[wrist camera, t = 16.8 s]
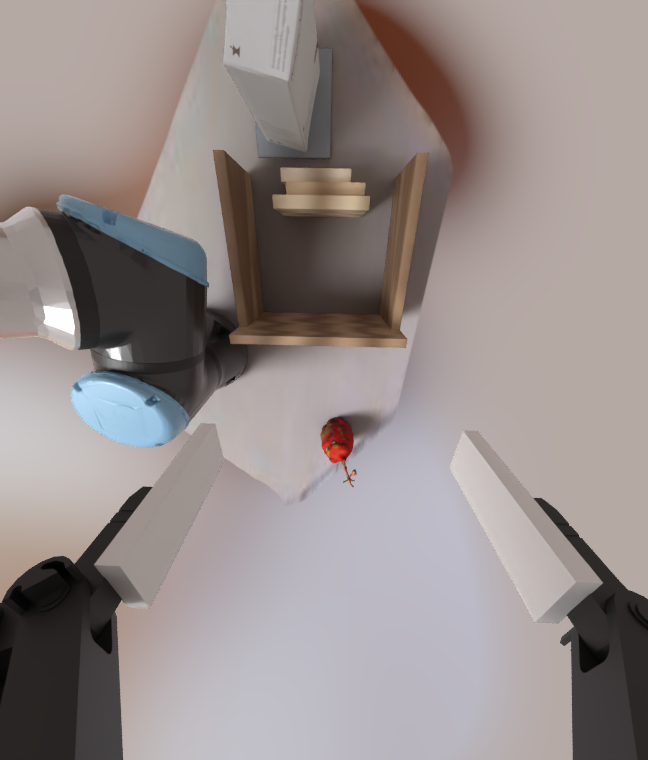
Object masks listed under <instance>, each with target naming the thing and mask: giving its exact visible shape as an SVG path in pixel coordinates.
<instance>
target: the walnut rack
mask: <svg viewBox="0 0 648 760" xmlns="http://www.w3.org/2000/svg"><path fill="white" fill-rule="evenodd" d="M213 154H214V161H215V168H216V175H217V181H218V188H219V195H220V202H221V208H222V215H223V222H224V229H225V235H226V242H227V249H228V256H229V262H230V269H231V276H232V283H233V289H234V296H235V303H236V310H237V316H238V323H239V327H238V328H237V329H236V330H235V331H233V332H232V333H231V334H230V335H229V338H230V344H262V345H305V346H348V347H391V348H406V344H407V338H406V337H405V336H404V335H403V334H402V332H401V331H400V325H401V319H402V313H403V307H404V301H405V295H406V289H407V283H408V277H409V271H410V265H411V258H412V252H413V246H414V240H415V234H416V228H417V222H418V216H419V210H420V204H421V198H422V192H423V186H424V179H425V173H426V167H427V161H428V155H429V153H417V154H416V155H415V156H414V158H413V159H412V160H411V161H410V162H409V163H408V164H407V166H406V167H405V168H404V169H403V170H402V171H401V172H400V173H399V175H398V176H397V177H396V179H395V187H394V195H393V203H392V212H391V220H390V228H389V237H388V245H387V253H386V262H385V270H384V278H383V286H382V295H381V303H380V311H379V315H375V314H329V313H283V312H264V309H263V299H262V289H261V278H260V268H259V258H258V248H257V237H256V227H255V217H254V207H253V196H252V186H251V176H250V175H249V174H248V173H247V172H246V171H245V170H244V169H243V168H242V167H241V166H240V165H239V164H238V163H237V162H236V161H235V160H233V159H232V158H231V157H230V156H229V155H228V154H227V153H226V152H225V151H224V150H213Z"/></svg>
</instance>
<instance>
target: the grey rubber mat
mask: <svg viewBox="0 0 648 760" xmlns="http://www.w3.org/2000/svg"><path fill="white" fill-rule="evenodd" d="M318 53H319V65H320V76H319V81H318V85H317V90H316V95H315V100H314V105H313V111H312V117H311V123H310V130H309V137H308V147H307V152H302V151H298V150H295V149H292V148H289V147H286V146H283V145H279V144H276V143H273V142H270V141H267V140H266V138H265V137H264V135H263V133H262V131H261V129H260V127H259V126H258V124H257V122H256V120H255V122H256V134H257V146H258V157H259V158H304V159H330V139H331V92H332V48H318Z"/></svg>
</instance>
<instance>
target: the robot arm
mask: <svg viewBox="0 0 648 760" xmlns="http://www.w3.org/2000/svg"><path fill="white" fill-rule="evenodd" d="M57 208H58V209H59V210H61V212H53V211H48V210H43V209H38V208H33V207H25V208H24V209H22V210H21V211H19V212H18V213H17V214H15V215H14V216H12V217H11V218H9V219H8V220H7V221H5V222H0V339H7V338H21V337H35V336H37V337H42V338H45V339H48V340H50V341H52V342H54V343H56V344H58V345H61V346H62V347H65V348H67V349H69V350H72V351H73V350H83V349H90V350H91V355H92V360H93V365H94V370H93V371H91V372H89V373H86V374H84V375H82V376H81V377H80V379H79V381H78V382H76V383H75V384H74V385H73V387H72V389H71V392H70V398H71V402H72V405H73V407H74V409H75V410H76V412H77V414H78V415H79V416H80V417H81V419H82V420H84V422H86V423H87V424H88V425H89V426H90V427H91V428H93V429H94V430H96V431H97V432H99V433H101V434H102V435H104V436H106V437H107V438H109V439H112V440H114V441H116V442H119V443H122V444H125V445H129V446H134V447H143V448H150V447H157V446H161V445H164V444H166V443H168V442H170V441H172V440H173V439H174V438H175V437H176V436H177V435H178V434H180V433H181V432H182V431H183V430H184V429H186V427H187V426H188V424H189V422H190V421H191V420H192V419H193V417H194V416H195V415H196V414H197V412H198V411H199V410H200V409H201V407H202V406H203V405H204V404H205V403H206V401H207V400H208V399H209V398H210V396H211V395H212V394H213V393H214V391H215V390H217V389H220V388H222V387H225V386H227V385H229V384H231V383H232V382H234V381H235V380H236V379H237V378H238V377H239V376H240V374H241V373H242V372H243V370H244V368H245V366H246V363H247V357H248V353H247V347H246V344H230V338H229V335H230V334H231V333H232V332H233V331H235V330H236V329H237V328H236V327H235V326H234V325H233V324H232V323H231V322H229V321H228V320H227V319H225V318H224V317H222V316H220V315H218V314H215V313H212V312H208V311H207V287H209V283H208V282H207V258H206V254H205V251H204V250H203V248H202V247H201V246H200V245H199V244H198V243H197V242H196V241H194V240H193V239H190V238H188V237H185V236H183V235H180V234H177V233H175V232H172V231H169V230H166V229H164V228H161V227H158V226H155V225H153V224H150V223H147V222H144V221H141V220H138V219H136V218H133V217H130V216H127V215H125V214H122V213H119V212H116V211H113V210H110V209H107V208H104V207H102V206H99V205H96V204H93V203H90V202H87V201H84V200H81V199H78V198H76V197H72V196H70V195H66V194H63V195H61V196H60V197H59V202H57ZM223 463H224V458H223V454H222V450H221V446H220V442H219V438H218V433H217V429H216V425H215V424H206V423H201V424H200V425H199V427H198V428H197V429H196V431H195V432H194V433H193V435H192V436H191V437H190V438H189V440H188V441H187V442H186V444H185V445H184V446H183V448H182V449H181V450H180V452H179V453H178V454H177V456H176V457H175V458H174V460H173V461H172V462H171V464H170V465H169V467H168V468H167V469H166V470H165V472H164V473H163V474H162V476H161V477H160V478H159V480H158V481H157V482H156V483H155V485H154V486H153V487H142V488H141V489H139V490H138V491H137V492H136V493H134V494H133V495H132V496H130V497H129V498H128V500H127V501H126V502H125V503H124V504H123V506H122V507H121V508H120V510H119V512H118V513H116V514H115V515H114V517H113V518H112V519H111V520H110V523H108V524H107V525H106V526H105V528H104V529H103V530H102V531H101V532H100V534H99V535H98V536H97V537H96V539H95V540H94V541H93V542H92V544H91V545H90V546H89V547H88V548H87V550H86V551H85V552H84V553H83V555H82V556H81V557H80V558H79V559H78V561H77V562H76V563H75V564H74V563H73V562H72V561H71V560H70V559H69V558H67V557H64V556H59V557H53V558H50V559H47V560H45V561H42V562H40V563H39V564H37V565H35V566H34V567H32V568H31V569H29V570H28V571H27V572H25V573H24V574H23V575H22V576H21V577H19V578H18V579H17V580H16V581H15V582H14V584H13V585H12V586H11V587H10V588H9V590H8V591H7V593H6V595H5V596H4V599H3V601H2V603H0V760H123V748H122V726H121V704H120V681H119V659H118V637H117V616H116V613H115V610H116V608H117V607H118V605H119V603H120V602H121V600H122V601H123V602H124V603H125V605H126V606H127V607H129V608H150V607H151V605H152V603H153V601H154V599H155V597H156V595H157V593H158V591H159V589H160V587H161V585H162V583H163V581H164V579H165V577H166V575H167V573H168V571H169V569H170V568H171V566H172V563H173V562H174V559H175V558H176V556H177V554H178V552H179V550H180V548H181V546H182V544H183V542H184V540H185V538H186V536H187V534H188V532H189V530H190V528H191V526H192V524H193V522H194V520H195V518H196V516H197V514H198V512H199V510H200V508H201V506H202V504H203V502H204V500H205V498H206V496H207V494H208V493H209V490H210V489H211V487H212V485H213V483H214V481H215V478H216V477H217V475H218V473H219V471H220V469H221V467H222V465H223ZM450 469H451V471H452V473H453V475H454V477H455V479H456V480H457V482H458V484H459V486H460V487H461V489H462V491H463V493H464V495H465V497H466V499H467V500H468V502H469V504H470V505H471V508H472V509H473V511H474V513H475V515H476V517H477V518H478V520H479V522H480V523H481V525H482V527H483V529H484V531H485V533H486V534H487V536H488V538H489V540H490V542H491V544H492V545H493V547H494V549H495V551H496V553H497V554H498V556H499V558H500V560H501V561H502V563H503V565H504V567H505V569H506V571H507V573H508V574H509V576H510V578H511V580H512V582H513V583H514V585H515V587H516V589H517V591H518V592H519V594H520V596H521V598H522V600H523V602H524V603H525V605H526V607H527V609H528V611H529V612H530V614H531V616H532V618H533V619H534V621H535V622H536V623H559V622H560V621H561V620H563V618H565V617H566V616H568V618H569V619H570V621H571V622H572V623H573V625H574V627H573V628H572V629H571V630H570V631H569V632H567V633H566V634H565V635H564V636H562V638H561V641H560V643H561V644H562V645H564V646H565V645H566V644H568V643H569V642H570V641H571V657H572V659H571V660H572V661H571V662H572V728H573V729H572V731H573V760H648V599H647V598H645V597H644V596H641V595H639V594H637V593H635V592H632V591H629V590H628V589H626V587H625V586H624V585H623V584H622V583H621V582H620V581H619V580H618V579H617V578H616V577H615V575H614V574H613V573H612V572H611V571H610V570H609V569H608V568H607V566H606V565H605V564H604V563H603V562H602V561H601V560H600V558H599V557H598V556H597V555H596V554H595V553H594V552H593V550H592V549H591V548H590V547H589V546H588V545H587V544H586V543H585V542H584V540H583V539H582V538H580V537H579V535H578V533H577V532H576V531H575V530H574V529H573V528H572V527H571V526H569V523H568V522H567V521H566V520H565V519H564V518H563V516H562V515H561V514H560V513H559V512H558V511H557V510H556V509H555V508H554V507H552V506H551V505H549V504H548V503H547V502H546V501H545V500H543V499H542V498H533V497H532V496H531V495H530V494H529V492H528V491H527V490H526V489H525V488H524V486H523V485H522V484H521V483H520V481H519V480H518V479H517V478H516V477H515V476H514V474H513V473H512V472H511V471H510V469H509V468H508V467H507V466H506V465H505V463H504V462H503V461H502V460H501V458H500V457H499V456H498V455H497V454H496V452H495V451H494V450H493V449H492V448H491V447H490V445H489V444H488V443H487V442H486V440H485V439H484V438H483V437H482V435H481V434H480V433H479V432H478V431H463V432H462V435H461V438H460V441H459V443H458V446H457V449H456V452H455V455H454V457H453V460H452V463H451V466H450Z"/></svg>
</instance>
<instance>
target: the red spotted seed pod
mask: <svg viewBox="0 0 648 760" xmlns="http://www.w3.org/2000/svg"><path fill="white" fill-rule="evenodd" d="M321 440H322V449H323V450H324V453H325V454H326V455H327V456H328V457H329V460H330V461H331V462H332V463H337V462H338V461H341V462H342V464H343V465H344V469H343V470H344V471H345V472H346V475H347V480H346V481H349V483H350V485H351V487H354V486H353V485H352V484H351V481H354V480H351V478H350V477H351V476H353V475H356V470H353V471H352V474H351V475H350V476H349V475H348V472H347V470H346V469H347V467H346V466H345V461H346V458H347V457H348V456H349V455H350V453H351V452H352V449H353V442H354V439H353V433H352V430H351V427H350V425H349V424H348V423H347V422H346V421H344V420H343V419H341V418H335V419H333V420H329V421H328V422H327V425H325V426H323V428H322V432H321ZM346 481H344V482H346Z"/></svg>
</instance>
